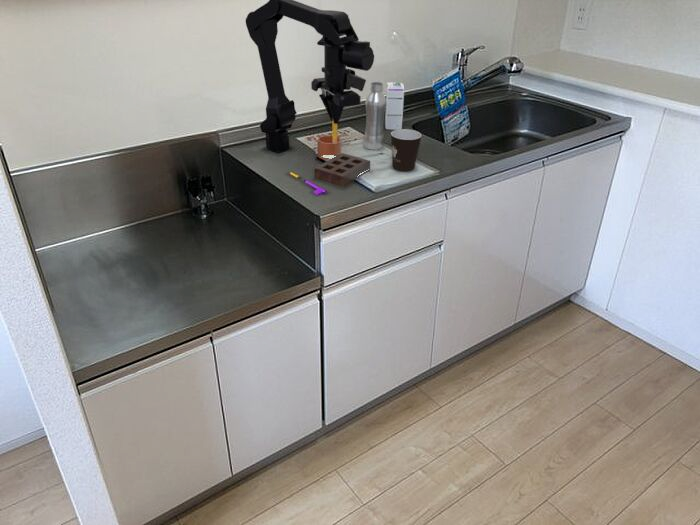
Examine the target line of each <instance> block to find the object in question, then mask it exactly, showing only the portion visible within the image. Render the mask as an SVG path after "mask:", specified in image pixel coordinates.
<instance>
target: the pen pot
mask: <svg viewBox="0 0 700 525" xmlns="http://www.w3.org/2000/svg"><path fill="white" fill-rule="evenodd" d="M341 153H342V138H341V137H340V136H337V144H333V143H332V134H327V135H321V136H319V137H317V157H318V158H319V159H321V160H326V161H328V160H330V159H329V158H323V157H321V156H323V155H334V156H338V155H340V154H341Z"/></svg>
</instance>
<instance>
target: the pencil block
mask: <svg viewBox="0 0 700 525" xmlns="http://www.w3.org/2000/svg"><path fill="white" fill-rule="evenodd" d="M368 169H369V170H368ZM366 170H368V171H366ZM313 171H314V179H316V180H318V181H322V182H325V183H328V184H331V185H335V186H339V187H342V188H344V187H346V186H347V185H349V184H351V183H352V182H354V181H356V180H358V179H359V178H360V177H362V176H364V175H366V174H367V173H370V172H371V160H369V159H365V158H362V157H359V156H354V155H351V154H347V153H344V152H341V154H340V155H338V156H336V157H334V158H332V159H330V160H326V161H325V162H323V163H321V164H319V165H317V166H316V167H314V170H313ZM364 171H366V172H364ZM362 172H364V173H363V174H361V175H359V174H360V173H362ZM358 175H359V176H358ZM357 176H358V177H357Z"/></svg>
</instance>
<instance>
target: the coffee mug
mask: <svg viewBox="0 0 700 525" xmlns="http://www.w3.org/2000/svg"><path fill="white" fill-rule="evenodd" d="M421 139H422V133H421V132H420V131H418V130H414V129H409V128H402V129H399V130H391V132H390V142H391V163H392V169H393V170H395V171H397V172H402V173H405V172H406V173H408V172H412V171H414V170H415V167H416V162H417V158H418V154H419V148H420V144H421Z"/></svg>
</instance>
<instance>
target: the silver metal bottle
mask: <svg viewBox="0 0 700 525" xmlns="http://www.w3.org/2000/svg"><path fill="white" fill-rule="evenodd" d="M369 90H370V92H369V93H368V95H367V96H366V98H365V100H364V102H365V119H366V120H365V130H364V135H363V141H362V142H363V146H364V148H366V150H371V151H377V150H381V149H382V148H383V146H384V143H385V135H384V122H385V113H386V95H385V94H384V93H383V91H384V85H383V83H382V82H380V81H373V82H370V87H369Z"/></svg>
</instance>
